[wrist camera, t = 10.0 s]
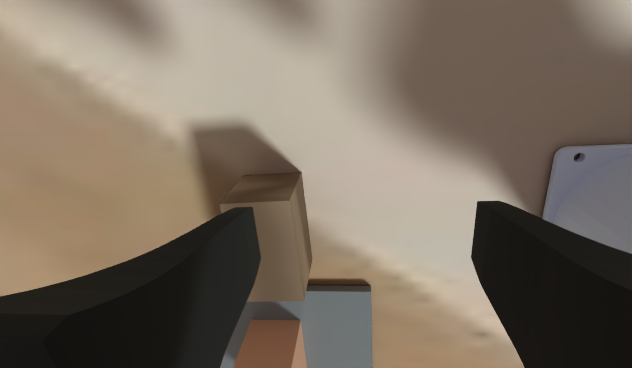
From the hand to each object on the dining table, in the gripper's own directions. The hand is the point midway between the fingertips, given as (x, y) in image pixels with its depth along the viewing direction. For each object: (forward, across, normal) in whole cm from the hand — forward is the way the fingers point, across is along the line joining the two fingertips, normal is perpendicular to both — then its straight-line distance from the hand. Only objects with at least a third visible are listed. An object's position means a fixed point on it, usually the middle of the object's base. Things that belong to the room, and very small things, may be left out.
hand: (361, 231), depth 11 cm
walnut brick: (+9, +5, +4) cm, 11 cm away
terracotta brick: (+8, +6, +14) cm, 18 cm away
